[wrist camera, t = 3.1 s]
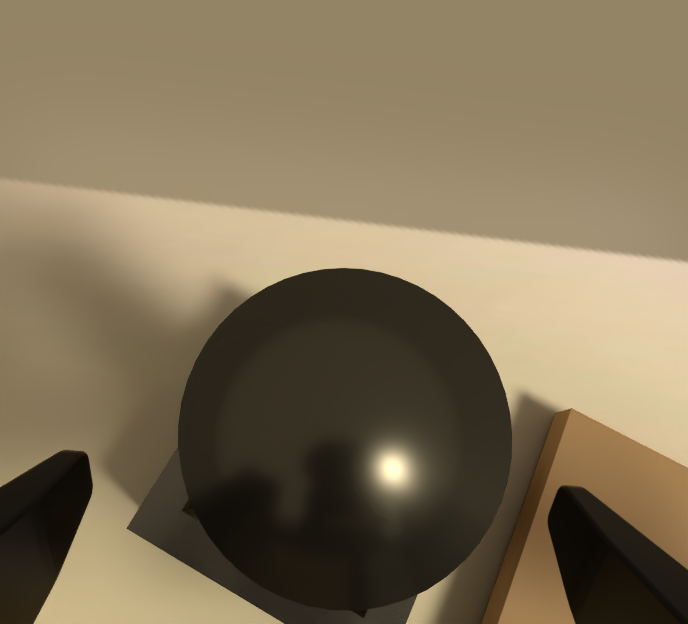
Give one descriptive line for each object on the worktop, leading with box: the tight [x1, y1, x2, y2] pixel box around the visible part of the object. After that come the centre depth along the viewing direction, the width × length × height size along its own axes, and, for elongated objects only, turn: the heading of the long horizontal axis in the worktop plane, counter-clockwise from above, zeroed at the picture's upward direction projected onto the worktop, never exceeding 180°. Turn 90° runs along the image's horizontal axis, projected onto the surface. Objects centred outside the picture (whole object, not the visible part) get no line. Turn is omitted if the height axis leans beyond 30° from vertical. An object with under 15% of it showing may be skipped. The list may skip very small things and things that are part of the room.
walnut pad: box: [481, 408, 688, 624], centre depth 16 cm, size 10×10×1 cm
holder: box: [127, 448, 417, 624], centre depth 16 cm, size 8×8×2 cm
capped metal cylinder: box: [178, 268, 512, 611], centre depth 11 cm, size 5×5×13 cm
